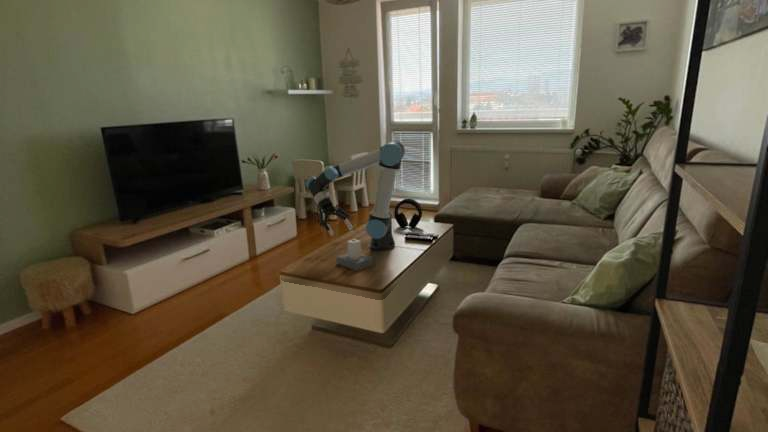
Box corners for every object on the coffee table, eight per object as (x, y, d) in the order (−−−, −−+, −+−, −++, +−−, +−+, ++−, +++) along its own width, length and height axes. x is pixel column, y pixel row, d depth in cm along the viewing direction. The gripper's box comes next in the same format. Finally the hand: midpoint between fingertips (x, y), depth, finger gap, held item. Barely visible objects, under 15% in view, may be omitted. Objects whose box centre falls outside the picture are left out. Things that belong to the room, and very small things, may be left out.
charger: (348, 262, 230) (347, 240, 227) (355, 259, 233) (354, 238, 230) (354, 264, 227) (353, 242, 223) (361, 261, 230) (360, 240, 227)
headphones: (394, 228, 295) (393, 200, 290) (396, 225, 301) (396, 198, 296) (420, 229, 290) (420, 201, 285) (422, 227, 296) (422, 199, 291)
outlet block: (336, 263, 232) (336, 256, 231) (353, 257, 240) (353, 251, 239) (356, 270, 221) (356, 263, 220) (373, 264, 229) (373, 257, 228)
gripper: (337, 201, 249) (355, 230, 243) (302, 209, 232) (321, 241, 226) (343, 193, 244) (361, 223, 238) (307, 201, 227) (327, 233, 221)
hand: (342, 231), depth 232 cm, fingers open, 13 cm apart
